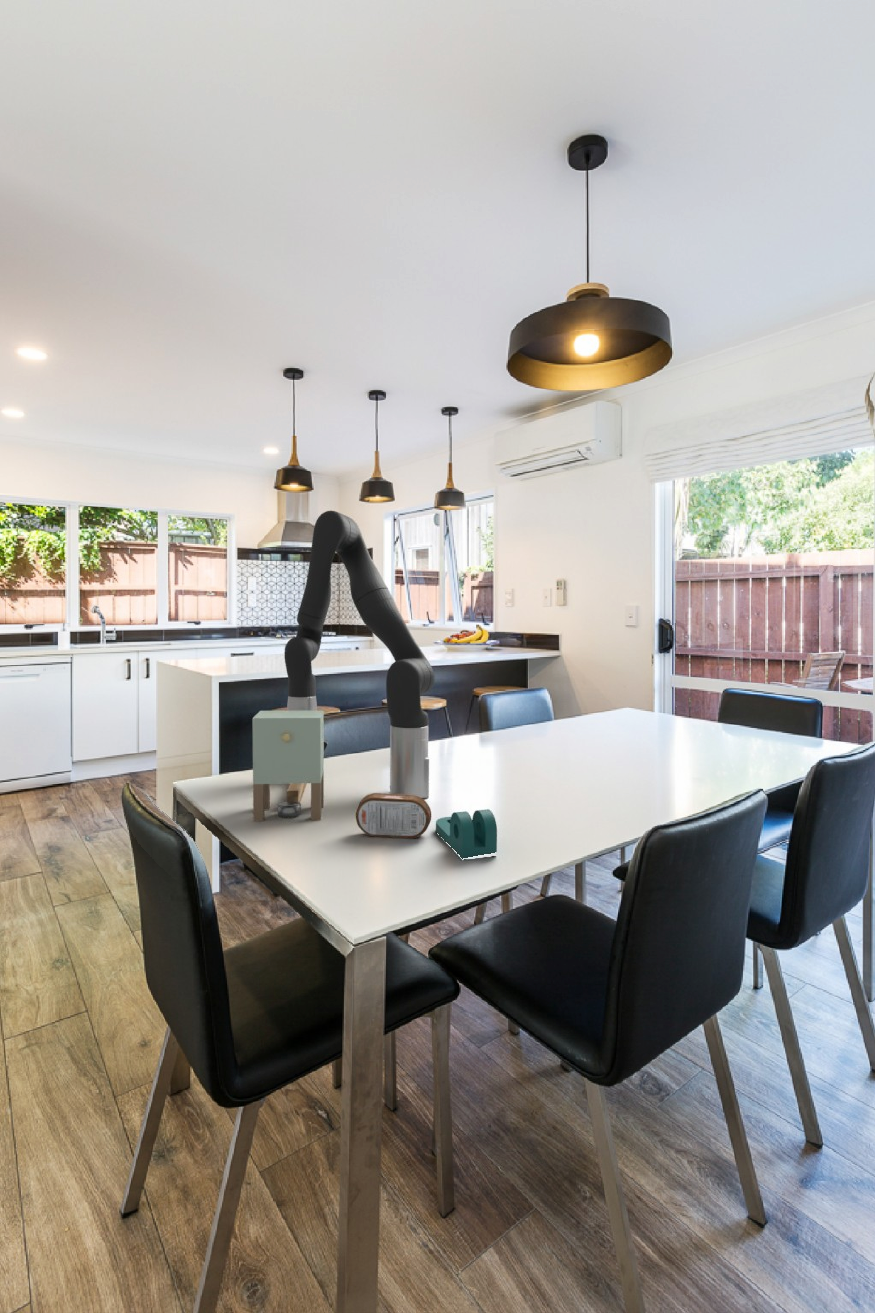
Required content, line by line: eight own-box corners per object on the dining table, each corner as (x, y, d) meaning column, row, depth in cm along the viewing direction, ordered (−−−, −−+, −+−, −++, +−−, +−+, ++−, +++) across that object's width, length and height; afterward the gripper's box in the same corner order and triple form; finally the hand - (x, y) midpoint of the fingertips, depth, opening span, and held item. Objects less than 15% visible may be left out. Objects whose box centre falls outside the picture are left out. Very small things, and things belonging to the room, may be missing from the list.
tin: (431, 835, 128) (431, 794, 127) (429, 841, 125) (430, 798, 124) (357, 832, 129) (357, 791, 129) (354, 837, 126) (354, 795, 125)
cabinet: (323, 805, 146) (323, 710, 144) (320, 821, 135) (320, 718, 133) (261, 807, 144) (260, 710, 143) (252, 823, 133) (251, 719, 132)
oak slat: (308, 780, 168) (308, 765, 168) (298, 808, 145) (298, 790, 144) (298, 780, 168) (298, 765, 167) (287, 808, 144) (286, 790, 144)
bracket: (496, 857, 117) (497, 815, 116) (462, 861, 115) (462, 819, 114) (462, 826, 134) (462, 789, 133) (431, 829, 132) (431, 791, 131)
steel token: (302, 811, 142) (302, 801, 142) (299, 819, 137) (299, 808, 137) (279, 812, 141) (279, 801, 141) (276, 819, 137) (276, 808, 136)
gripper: (330, 710, 169) (330, 774, 171) (277, 711, 168) (277, 775, 169) (328, 715, 162) (328, 782, 163) (272, 715, 161) (273, 783, 162)
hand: (302, 778), depth 166 cm, fingers closed on oak slat, 2 cm apart
